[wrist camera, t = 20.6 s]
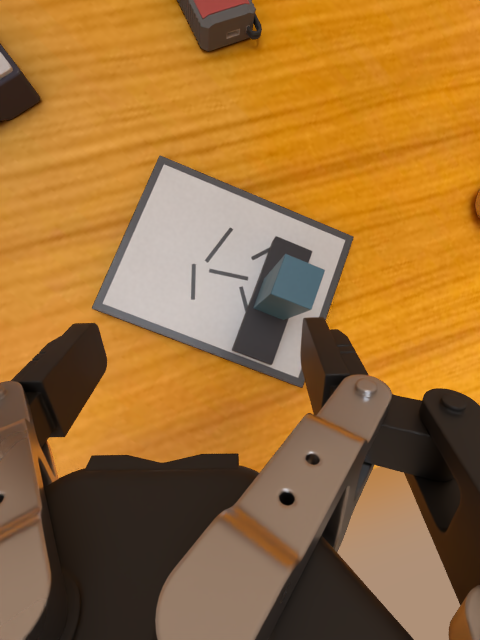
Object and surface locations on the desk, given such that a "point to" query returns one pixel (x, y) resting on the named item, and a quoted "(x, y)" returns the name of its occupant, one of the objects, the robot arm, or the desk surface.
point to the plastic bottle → (478, 204)
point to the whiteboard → (212, 264)
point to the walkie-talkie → (221, 21)
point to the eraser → (277, 299)
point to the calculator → (14, 89)
